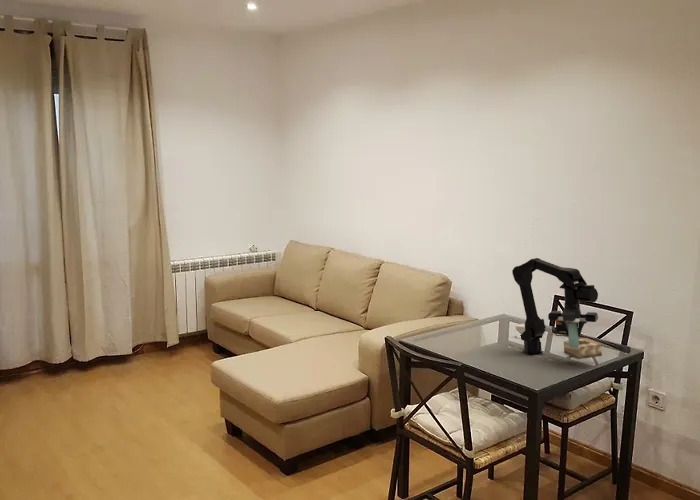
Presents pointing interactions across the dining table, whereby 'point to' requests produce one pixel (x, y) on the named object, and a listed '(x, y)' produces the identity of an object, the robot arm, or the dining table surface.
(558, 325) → the battery
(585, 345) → the bore block
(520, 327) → the light grey cone
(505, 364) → the dining table surface
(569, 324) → the peg
